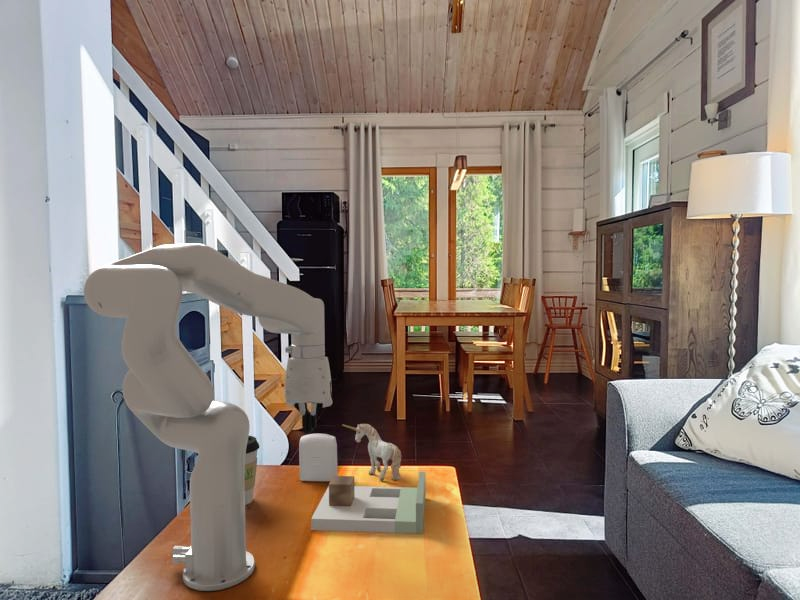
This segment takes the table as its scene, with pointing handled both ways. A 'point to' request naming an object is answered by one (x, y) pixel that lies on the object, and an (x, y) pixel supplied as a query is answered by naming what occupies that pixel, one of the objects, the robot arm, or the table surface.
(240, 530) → the robot arm
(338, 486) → the walnut block
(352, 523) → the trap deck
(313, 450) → the photo printer
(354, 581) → the table surface
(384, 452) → the unicorn figurine
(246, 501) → the coffee cup
